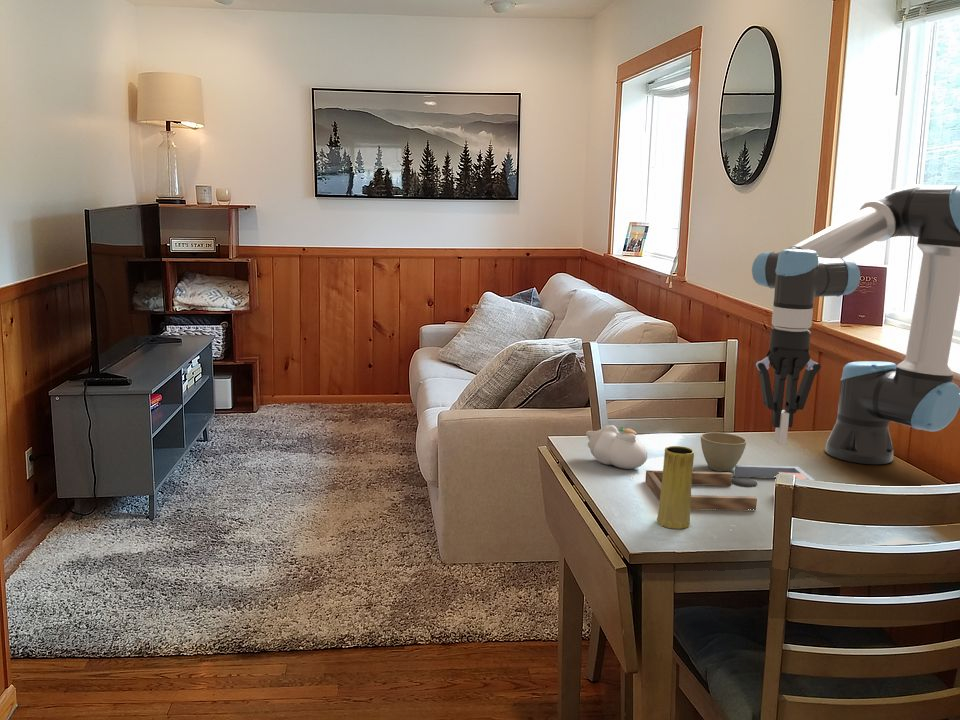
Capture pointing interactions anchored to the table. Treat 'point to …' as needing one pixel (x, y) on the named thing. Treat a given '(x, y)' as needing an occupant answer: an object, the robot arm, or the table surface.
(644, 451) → the white rounded lumpy piece
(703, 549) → the table surface
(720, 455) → the beige bowl
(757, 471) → the bay
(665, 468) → the vase
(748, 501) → the wooden frame
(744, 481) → the hole marker
